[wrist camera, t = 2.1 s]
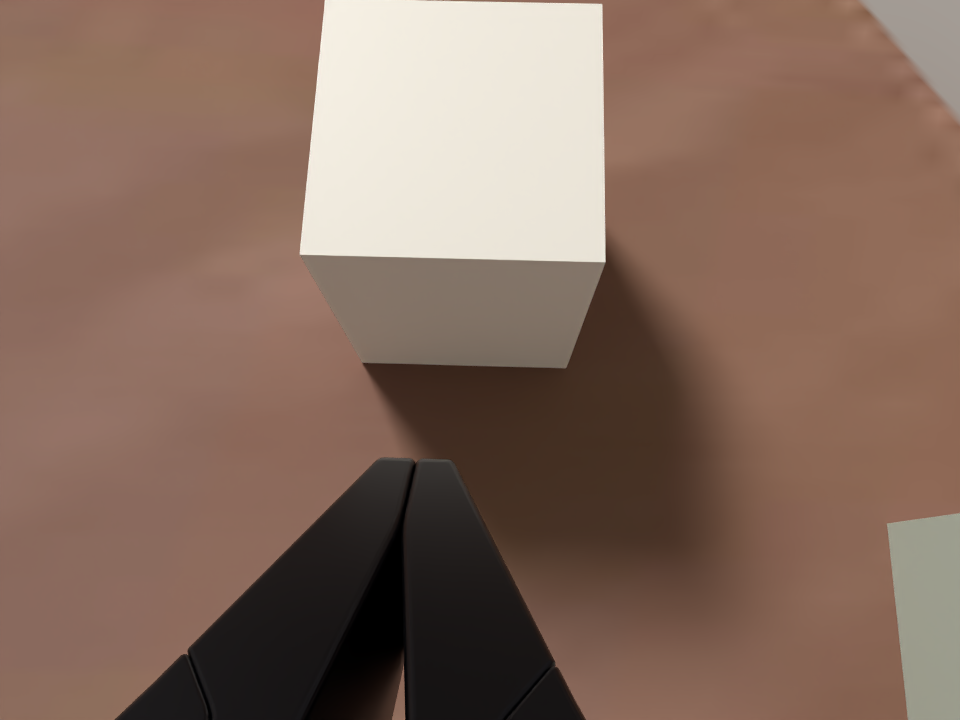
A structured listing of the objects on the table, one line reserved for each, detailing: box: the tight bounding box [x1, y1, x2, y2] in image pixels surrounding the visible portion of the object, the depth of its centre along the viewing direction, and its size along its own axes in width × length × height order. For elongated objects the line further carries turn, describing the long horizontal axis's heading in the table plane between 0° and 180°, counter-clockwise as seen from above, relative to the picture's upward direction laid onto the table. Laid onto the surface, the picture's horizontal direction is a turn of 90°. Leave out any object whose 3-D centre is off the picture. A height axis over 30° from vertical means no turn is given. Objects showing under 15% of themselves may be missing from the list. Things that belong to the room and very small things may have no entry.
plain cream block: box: [300, 0, 606, 368], centre depth 20 cm, size 6×6×8 cm
